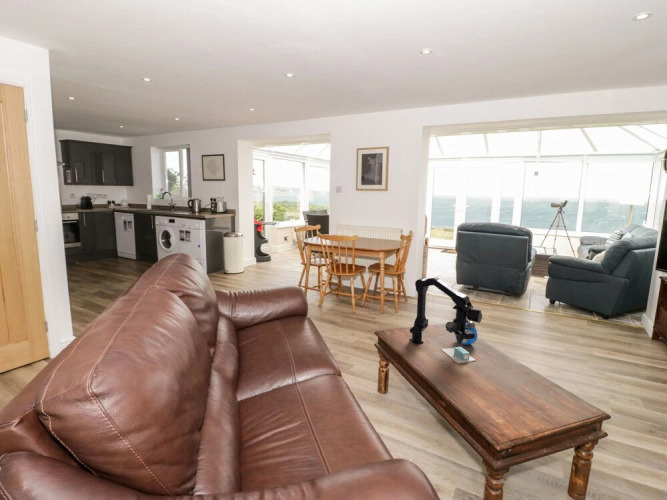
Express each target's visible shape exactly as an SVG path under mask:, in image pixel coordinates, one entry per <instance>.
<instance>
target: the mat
mask: <svg viewBox="0 0 667 500" xmlns="http://www.w3.org/2000/svg"><path fill="white" fill-rule="evenodd" d="M441 351H442V352H443V353H444V354H445V355H446V356H448V357H449V358H450V359H452V360H453V361H454V362H456V363H457V364H462V363H463V364H464V363H470V362H476V359H475V358H474V357H472V356H471V355H469V360H464V361H462V360H461V359H460V358H458V357H457V356H456V355H455V354H454V347H449V348H441Z"/></svg>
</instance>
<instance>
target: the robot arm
mask: <svg viewBox="0 0 667 500" xmlns="http://www.w3.org/2000/svg"><path fill="white" fill-rule="evenodd" d="M414 284H415V285H414V286H415V291H416V293H417V305H416V318H415V320H414V322H413V326H412V327H411V328H410V329H409V332H410V334H411V338H408V339H409V341H410V342H411V343H412V344H414V345H416V344H424V341H423V332H424V331H425V330H426V329H427V328H428V326H429V319H428V318H426V303H427V301H426V299H427V292H428V289H429V287H430V286H434V287H436V288H437V289H438V290H440V291H441V292H442V293H444V294H445V295H446V296H448V297H449V298H450V299H451V300H452V301H453V303H454V304H455V305H454V306H453V307H452V309H453V310H455V317H454V318H453V319H452V321H447V322H446V323H445V330H446V331H447V332H448V333H449V334H450V333H451V334H452V333H453V334H454V335H455V339H456V343H457V345H462V344H461V342H462V341H463V340H464V339H474V338H475V334H474V333H473V332H471V331H466V330H467V329H468V328H467V327H466V323H468V322H470V321H471V322H473V323H479V324H480V323H481V322H482V319H483V314H482V310H481V309H476V308H474V306H473V305H472V303H471V301H470V297H469V296H468V295H467V294H465V293H462V292H461V291H460V292H459V291H456V290H455V289H453V287H451V286H450V285H448V284H447V283H445V282H444V281H442V279H440V278H439V277H438V276H435V277H431V278H430V277H429V278H427V277H422V278H419V279H417V280H415V283H414Z"/></svg>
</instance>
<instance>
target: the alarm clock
mask: <svg viewBox="0 0 667 500" xmlns="http://www.w3.org/2000/svg"><path fill="white" fill-rule="evenodd" d="M466 327H467V328H468V329H467V330H466V331H471V332H473V333H474V334H475V338H474V339H464V340H463V341H462V342H461V344H460V345H463V346H464V345H465V346H467V345H472V344H475V343H476V342H477V341H478V330H477V327H476V324H475V322H474V321H470V320H469V321H468V323H466Z"/></svg>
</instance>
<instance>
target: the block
mask: <svg viewBox="0 0 667 500" xmlns="http://www.w3.org/2000/svg"><path fill="white" fill-rule="evenodd" d="M453 348H454V354H455V355H456V356H457V357H458V358H460V359H461V360H462V361H464V360H469V356H470V352H469V351H467V350H466V349H464V348H463V347H462V346H457V347H456V346H455V347H453Z"/></svg>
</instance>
